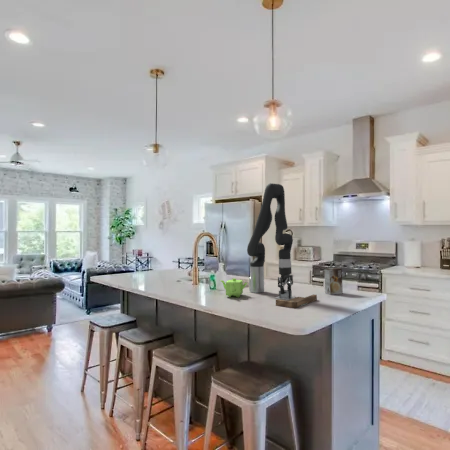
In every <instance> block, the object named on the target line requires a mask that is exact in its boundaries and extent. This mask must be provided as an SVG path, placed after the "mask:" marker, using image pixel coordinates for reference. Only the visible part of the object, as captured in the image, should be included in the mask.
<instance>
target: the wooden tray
mask: <svg viewBox="0 0 450 450" xmlns="http://www.w3.org/2000/svg"><path fill="white" fill-rule="evenodd" d="M295 297H296V296H295ZM317 300H318V296H317V294H312V295H308V296H305V297H303V296H297V297H296V298H293V299H290V300H285V299H278V298H276V300H275V306H278V307H285V308H290V309H292V308H293V309H297V308H300V307H302V306H304V305H307V304H310V303H313V302H316V301H317Z"/></svg>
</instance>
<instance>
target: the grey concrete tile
mask: <svg viewBox="0 0 450 450" xmlns="http://www.w3.org/2000/svg"><path fill="white" fill-rule="evenodd" d="M293 298H296V296H292V297H291V298H290V297H289V298H288V299H287V298H279V295H278V296H275V297H274V299H279V300H290V299H293Z"/></svg>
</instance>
